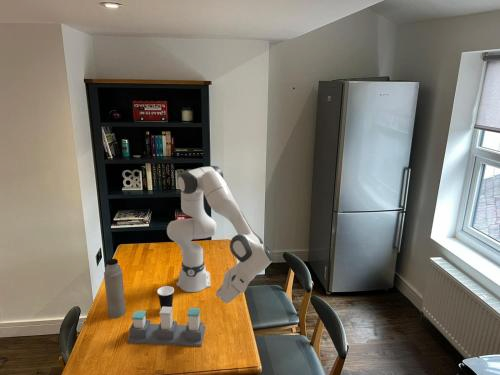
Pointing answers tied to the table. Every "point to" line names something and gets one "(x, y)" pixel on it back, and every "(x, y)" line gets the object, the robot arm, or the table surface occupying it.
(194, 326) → the teal key
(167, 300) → the dixie cup
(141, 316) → the teal key
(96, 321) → the table surface
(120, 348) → the table surface
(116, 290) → the thermos bottle
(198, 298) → the table surface
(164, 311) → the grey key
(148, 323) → the console
